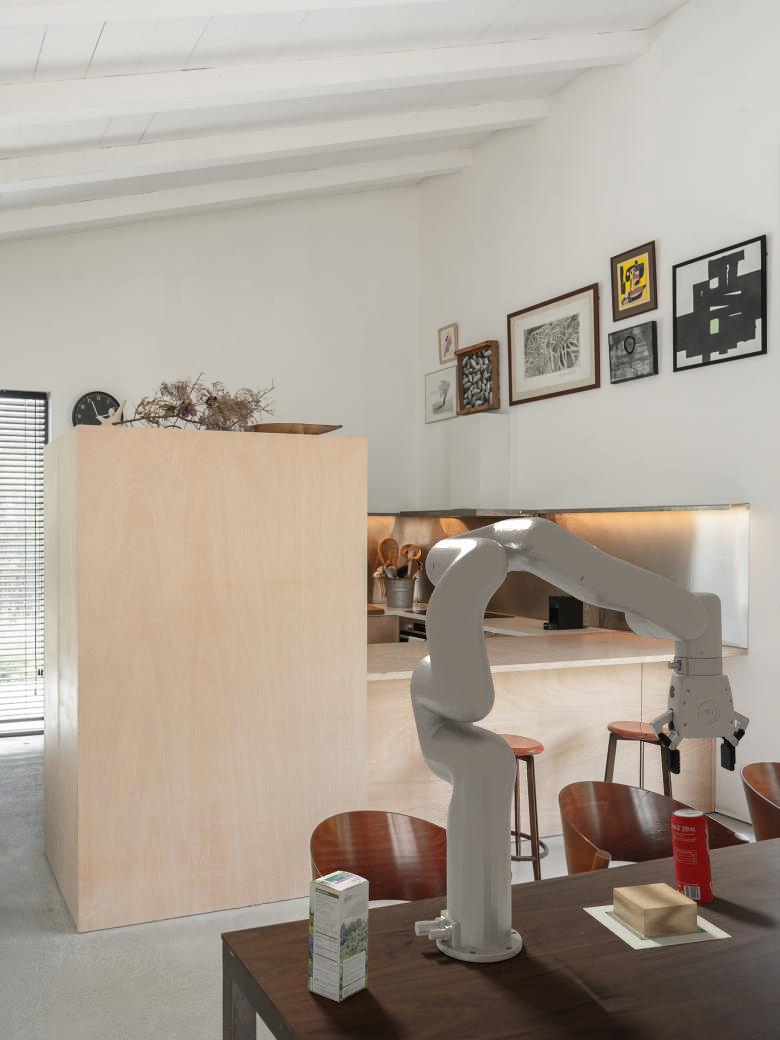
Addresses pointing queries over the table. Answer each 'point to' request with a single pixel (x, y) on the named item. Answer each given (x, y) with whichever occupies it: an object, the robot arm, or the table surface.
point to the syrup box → (338, 935)
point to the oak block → (655, 909)
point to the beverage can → (692, 854)
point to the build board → (640, 942)
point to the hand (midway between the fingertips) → (700, 770)
